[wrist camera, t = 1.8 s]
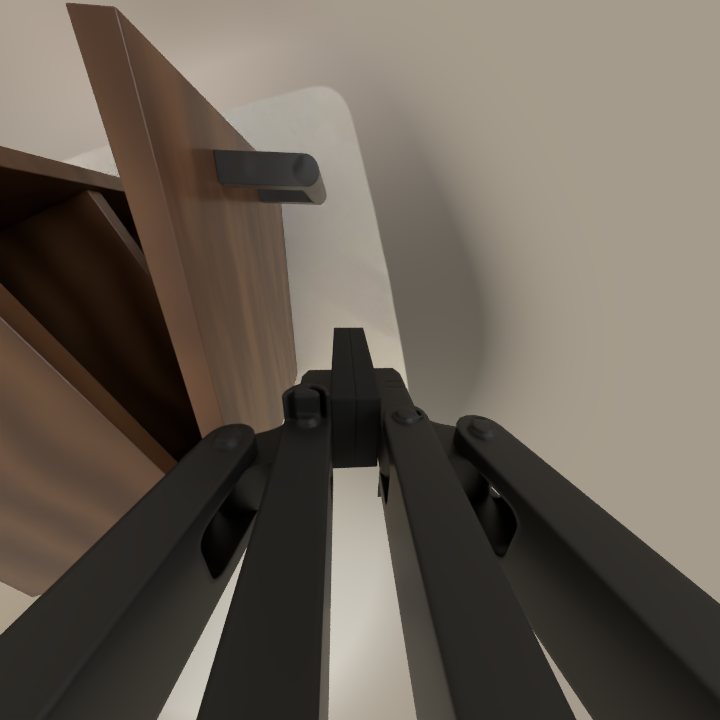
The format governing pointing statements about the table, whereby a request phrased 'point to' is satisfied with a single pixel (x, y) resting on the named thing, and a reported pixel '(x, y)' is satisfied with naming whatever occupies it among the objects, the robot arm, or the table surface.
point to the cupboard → (77, 368)
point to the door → (202, 222)
